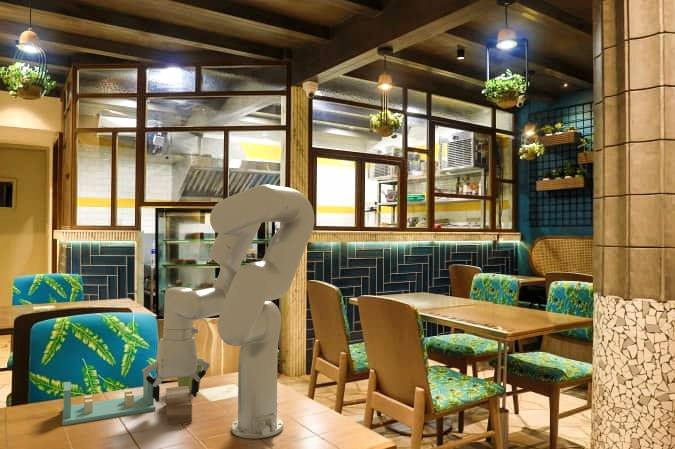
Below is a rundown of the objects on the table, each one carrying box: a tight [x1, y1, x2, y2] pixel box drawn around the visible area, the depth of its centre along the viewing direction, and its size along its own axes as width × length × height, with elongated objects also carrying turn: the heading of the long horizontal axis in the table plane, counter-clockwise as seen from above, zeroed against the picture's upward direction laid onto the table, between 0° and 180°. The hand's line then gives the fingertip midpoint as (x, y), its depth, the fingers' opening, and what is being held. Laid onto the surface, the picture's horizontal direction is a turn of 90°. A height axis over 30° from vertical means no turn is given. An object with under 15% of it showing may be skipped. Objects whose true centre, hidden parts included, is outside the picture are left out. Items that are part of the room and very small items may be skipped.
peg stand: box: [61, 372, 156, 426], centre depth 134 cm, size 22×12×8 cm, turn 119°
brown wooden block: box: [165, 386, 193, 427], centre depth 132 cm, size 16×6×5 cm, turn 20°
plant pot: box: [176, 357, 206, 393], centre depth 152 cm, size 9×9×9 cm
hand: (175, 397), depth 132 cm, fingers open, 9 cm apart
